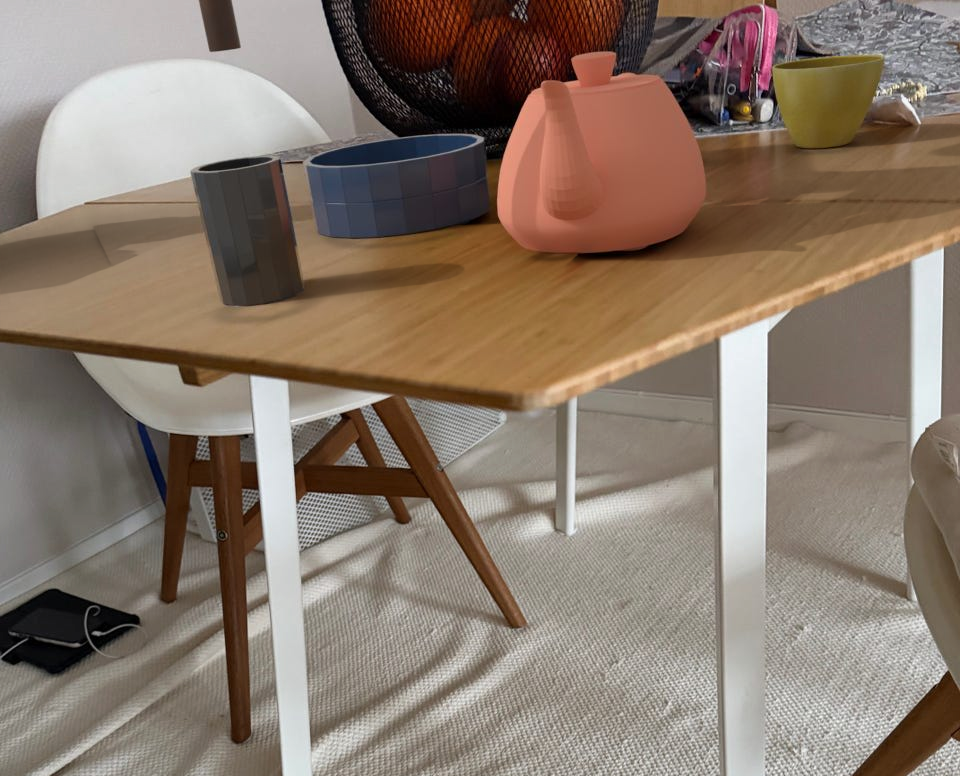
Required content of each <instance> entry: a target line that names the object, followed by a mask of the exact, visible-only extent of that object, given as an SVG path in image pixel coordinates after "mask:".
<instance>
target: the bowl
mask: <svg viewBox="0 0 960 776" xmlns="http://www.w3.org/2000/svg"><path fill="white" fill-rule="evenodd" d="M485 140H486V139H485V137H484V136H480V135H478V134H471V133H470V134H469V133H435V134H422V135H421V134H420V135H412V136H404V137H403V136H402V137H394V138H387V139H379V140H374V141H369V142H367V141H366V142H363V143H357V144H351V145H347V146H342V147H337V148H334V149H329V150H326V151H322V152H319V153H317V154H314V155H311V156H309V157H306V159H305V160H303V162H302V167H303V172H304V177H305V182H306V188H307V189H306V190H307V193H308V200H309V205H310V210H311V216H312V222H313V228H314V230H315V231H316V232H317V233H318V234H319V235H322V236H326V237H328V238H329V237H330V238H344V239H368V238H369V239H373V238H385V237H393V236H394V237H395V236H403V235H404V236H405V235H411V234H419V233H422V232H423V233H425V232H428V231H429V232H430V231H435V230H440V229H444V228H447V227H452V226H453V227H454V226H464V225H466V224H468V223H470V222H472V221H473V220H474V219H477V218H479V217H481V216H483V215H484V214H486V213H488V212H490V210H491V205H492V202H491V193H490V181H489V171H488V170H489V169H488V163H487V162H488V161H487V160H488V159H487V151H486V141H485Z"/></svg>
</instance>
